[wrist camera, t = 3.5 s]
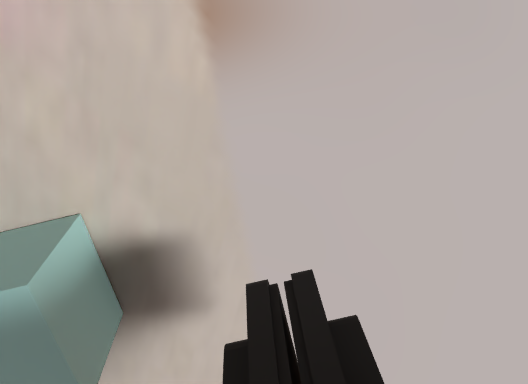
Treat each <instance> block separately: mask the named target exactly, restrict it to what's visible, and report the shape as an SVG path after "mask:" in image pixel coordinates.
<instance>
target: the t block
mask: <svg viewBox="0 0 528 384" xmlns="http://www.w3.org/2000/svg"><path fill="white" fill-rule="evenodd" d="M122 315H123V312H122V309H121V307H120V305H119V302H118V300H117V298H116V295H115V293H114V291H113V288H112V286H111V284H110V281H109V279H108V277H107V274H106V272H105V270H104V267H103V265H102V263H101V260H100V258H99V256H98V254H97V251H96V249H95V247H94V244H93V242H92V240H91V237H90V235H89V233H88V230H87V228H86V226H85V223H84V221H83V219H82V216H81V214H77V215H73V216H68V217H64V218H60V219H56V220H51V221H47V222H43V223H39V224H34V225H30V226H26V227H22V228H18V229H13V230H9V231H5V232H1V233H0V384H98V381H99V378H100V376H101V373H102V370H103V367H104V365H105V362H106V359H107V356H108V354H109V351H110V348H111V345H112V343H113V340H114V337H115V334H116V332H117V329H118V326H119V323H120V321H121V318H122Z"/></svg>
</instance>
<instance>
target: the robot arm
mask: <svg viewBox="0 0 528 384" xmlns="http://www.w3.org/2000/svg"><path fill="white" fill-rule="evenodd" d="M291 277H292V280H289V281H285V282H284V286H285V291H286V298H287V303H288V309H289V315H290V320H291V326H292V332H293V338H294V343H295V349H296V354H295V350H294V346H293V343H292V339H291V335H290V331H289V327H288V323H287V319H286V315H285V311H284V308H283V304H282V300H281V296H280V292H279V288H278V284H277V283H276V284H272V285H269V282H268V280H263V281H258V282H254V283H250V284H246V302H247V335H248V339H246V340H242V341H237V342H233V343H228V344H226V345H225V347H224V364H223V384H384V382H383V379H382V377H381V374H380V372H379V369H378V367H377V364H376V362H375V359H374V357H373V354H372V352H371V349H370V347H369V344H368V342H367V339H366V337H365V334H364V332H363V329H362V327H361V324H360V322H359V320H358V317H357V316H356V315H354V316H349V317H344V318H340V319H336V320H331V321H327V318H326V315H325V311H324V308H323V305H322V301H321V298H320V294H319V291H318V288H317V285H316V281H315V278H314V274H313V271H312V270H307V271H303V272H298V273H293V274H291ZM296 355H297V358H296ZM297 361H298V362H297Z"/></svg>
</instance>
